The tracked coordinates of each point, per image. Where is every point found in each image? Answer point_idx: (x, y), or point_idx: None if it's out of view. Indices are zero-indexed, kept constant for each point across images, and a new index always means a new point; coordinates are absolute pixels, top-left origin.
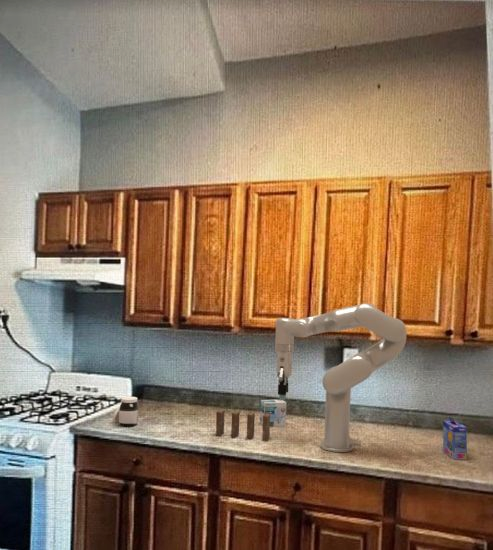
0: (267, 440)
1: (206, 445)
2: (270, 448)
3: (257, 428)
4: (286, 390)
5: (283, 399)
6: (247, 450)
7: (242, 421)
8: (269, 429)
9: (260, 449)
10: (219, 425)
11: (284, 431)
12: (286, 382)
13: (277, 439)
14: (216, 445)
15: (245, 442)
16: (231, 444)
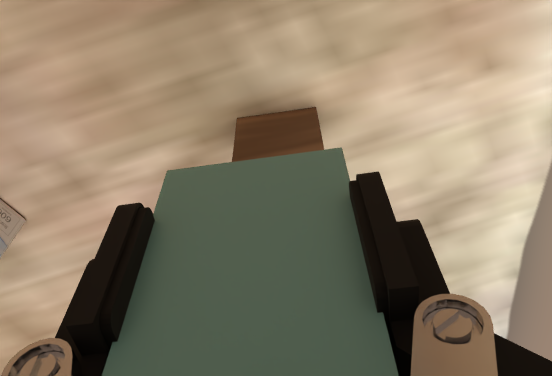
0: (303, 109)
1: (502, 318)
2: (464, 38)
3: (82, 238)
4: (146, 235)
5: (343, 162)
6: (541, 143)
7: (9, 335)
8: (241, 144)
9: (503, 86)
10: None
11: (23, 80)
12: (114, 351)
13: (241, 62)
14: (490, 288)
15: (390, 201)
16: (452, 243)
